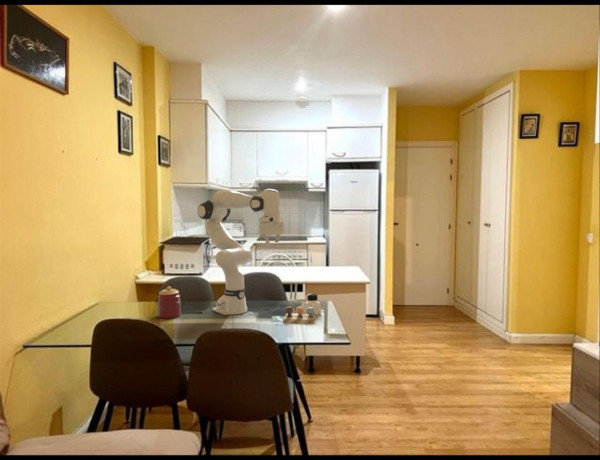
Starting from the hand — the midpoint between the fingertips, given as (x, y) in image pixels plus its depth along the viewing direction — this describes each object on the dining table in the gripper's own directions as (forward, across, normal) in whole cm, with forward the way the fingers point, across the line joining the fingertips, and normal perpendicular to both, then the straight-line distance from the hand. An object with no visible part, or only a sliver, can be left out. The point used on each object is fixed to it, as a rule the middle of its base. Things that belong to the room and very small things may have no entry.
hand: (272, 243), depth 220 cm
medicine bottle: (+44, -21, +14) cm, 51 cm away
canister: (+44, +20, -60) cm, 77 cm away
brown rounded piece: (+42, -6, +7) cm, 43 cm away
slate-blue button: (+42, -10, +18) cm, 47 cm away
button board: (+44, -8, +13) cm, 46 cm away
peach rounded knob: (+42, -8, +13) cm, 44 cm away
